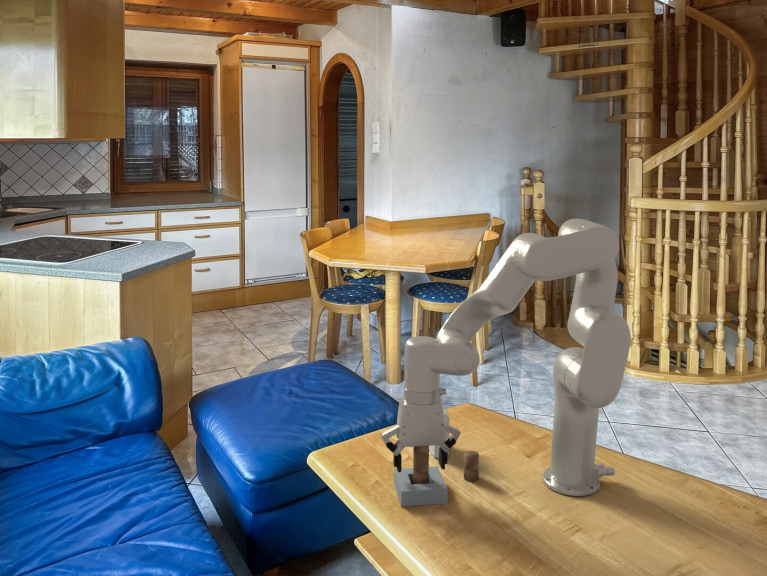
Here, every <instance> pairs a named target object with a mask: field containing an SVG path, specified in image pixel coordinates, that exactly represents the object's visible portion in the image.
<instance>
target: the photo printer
mask: <svg viewBox="0 0 767 576" xmlns="http://www.w3.org/2000/svg"><path fill="white" fill-rule="evenodd" d="M443 409H444V419H445V423H446V424H448V425H450V416H449V413H448V411H447V409H446V407H444V405H443ZM449 438H450V433H449V432H447V431H445V442H446V441H447V440H448V439H449ZM439 448H440V446H439V445H435V446H429V453H430V454H431V455H432V456H433V458H436V459H438V460H439ZM449 453H450V451H449V452H448V456H449Z"/></svg>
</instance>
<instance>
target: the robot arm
mask: <svg viewBox="0 0 767 576" xmlns="http://www.w3.org/2000/svg"><path fill="white" fill-rule="evenodd" d="M557 233H558V234H557V236H550V237H545V236H543V235H542V234H541V235H540V234H537V233H533V232H525V233H524V232H523V233H521V234H519V235H518V236H516V237H515V238H514V239H513V241H512V242H511V243H510V244H509V246H508V247H507V248H506V250H505V251H504V253H503V254H502V255H501V257H499V258H500V259H499V260H498V261H497V263H496V264H495V266H494V267H493V268H492V269H491V271H490V273H488V276H487V277H486V278H485V280H484V281H483V282H482V283H481V285H480V287H479V288H477V290H475V291H474V292H472V293H471V294H470V295H469V296H468V297H466V299H464V300H463V301H462V302H461V303H460V304H458V306H457V307H456V308H455V309H454V310H453V311H452V313H451V314H450V315H449V317H448V318H447V320H446V321H445V323H444V324H443V325H442V326H441V329H440V330H439V332H438V333H437V335H436V338H435V337H431V336H427V335H426V336H425V335H420V336H413V337H410V338H408V339H407V340H406V342H405V344H404V373H403V374H404V376H403V377H404V378H403V379H404V380H403V381H404V383H403V384H404V386H403V388H404V389H403V391H404V392H403V397H401V398H400V399H399V404H398V408H397V409H398V411H397V419H396V425H394V426H393V427H391V428H389V429H387V430H385V431H384V432H382V433H380V434H381V435H380V437H381V439H382V441H383V443H384V445H385V447H386V448H387V449H388V450H389V451H390V452H391V453H393V462H392V463H393V467H394V468H395V469H397V471H398V472H401V469H402V460H403V459H402V451H403V450H405V448H413V447H419V446H435V445H439V446H440V448H439V459H438V465H439V467H440V469H441V470H443V471H444V470H446V465H447V464H448V457H449V455H448V452H449V453H450V451H451V448H454V447H453V446H455V445H456V444H457V441H458V439H459V438H460V436H461V431H460V428H457V427H454V426H452V425H450V424H449V425H448V424H446V423H445V419H444V409H443V406H444V404H443V400H442V396H443V395H447V389H446V388H445V387H444V388H443V387H441V384H440V381H441V379H440V378H441V377H440V376H441V375H448V376H449V375H450V376H458V377H463V376H464V377H465V376H468V375H470V374H472V373H474V372H475V371H476V370H477V369H478V367H479V365H480V362H481V358H480V353H479V350H478V349H477V348H476V346H475V345H474V344H473V342H472V341H473V339H474V337H475V336H476V335H477V333H479V331H480V330H481V328H482V327H484V325H486V324H487V323H488V322H490V320H493V319H495V318H497V317H501V316H504V315H508V314H510V313H512V312H513V311H514V310H515V309H516V308H517V307H518V305H519V304H520V302H521V301H522V299H523V298H524V296H525V295H526V294H527V292H528V291H529V289H531V287H532V285H533V284H534V282H536V281H540V282H546V281H547V282H548V281H555V280H558V279H559V280H560V279H565V278H569V277H571V276H575V283H574V291H573V295H572V301H571V306H570V311H569V316H568V321H567V332H568V333H569V335H570V337H571V338H572V339H573V340H574V341H575V342H577V343H578V344H579V345H581V346H582V347H579V346H572V347H571V346H570V347H568V348H566V349H564V350H562V351H561V352H560V353H559V354H558V355H557V357H556V359H555V361H554V363H553V364H554V365H553V369H552V371H553V372H552V374H553V375H552V376H553V388H554V406H553V407H554V408H553V409H554V410H553V424H552V438H551V452H550V453H551V455H550V467H548V468H546V469H545V470H544V471H543V474H542V480H543V483H544V485H546V486H547V488H549V489H550V490H552V491H554V492H556V493H559V494H562V495H566V496H573V497H586V496H590V495H593V494H595V493H597V492H598V491H599V490H600V487H601V480H600V478H601V479H602V477H604V476H605V477H609V476H612V477H613V476H615V473H616V470H615V468H614V467H613V466H606V467H605V464H604V463H603V462H602V463H601V462H600V463H595V462H596V449H597V440H598V439H597V438H598V437H597V436H598V424H599V414H600V413H599V411H600V409H603V408H605V407H607V406H609V405H610V404H612V403H613V402H614V401H615V399H616V398H617V397H618V395H619V393H620V390H621V388H622V385H623V380H624V376H625V373H626V372H625V371H626V366H627V363H628V358H629V352H630V348H631V342H632V341H631V340H632V337H631V336H632V335H631V330H630V326H629V324H628V323H627V320H625V318H624V317H623V316H621V315H620V314H619V313H618V312H615V311H614V310H615V309H614V307H615V301H616V294H617V286H618V280H619V279H618V278H619V277H618V275H619V274H618V267H617V262H616V259H615V258H616V257H617V256H618V253H619V251H620V250H619V249H620V242H619V237H618V236H617V234H616V233H615V231H613V230H612V228H609V227H608V226H607V225H603V224H601V223H597V222H593V221H591V220H587V219H583V218H572V219H571V218H570V219H568V220H566V221H564V223H562V224H561V225H560V228H559V229H558V232H557ZM445 431H447V432H449V434H451V435H450V436H449V439H448V440H447V441H446V442H445ZM394 436H396V438H397V440H396V441H395V442H394V443H393V442H392V441H391V439H390V438H392V437H394Z"/></svg>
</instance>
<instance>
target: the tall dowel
mask: <svg viewBox="0 0 767 576" xmlns="http://www.w3.org/2000/svg"><path fill="white" fill-rule="evenodd" d="M412 448H413V452H412V453H413V454H412V457H413V458H412V461H413V462H412V468H413V485H414V484H428V476H429V467H430V466H429V465H430V464H429V463H430V451H429V446H419V447H412Z"/></svg>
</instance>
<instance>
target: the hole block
mask: <svg viewBox="0 0 767 576" xmlns="http://www.w3.org/2000/svg"><path fill="white" fill-rule="evenodd" d="M393 469H394V470H393V471H394V472H393V485H394V488H395V490H396V495H397V496H398V500H399V501H398V502H399V503H400V507H414V506H427V505H429V506H430V505H443V504H448V487H447V484H446V482H445V480H444V478H443V475H442V473H441V471H440V469H439V466H436V465H435V466H429V476H428V484H414V485H413V467H408V468H407V467H405V468H402V467H401V472H398V471H397V468H393Z"/></svg>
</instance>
